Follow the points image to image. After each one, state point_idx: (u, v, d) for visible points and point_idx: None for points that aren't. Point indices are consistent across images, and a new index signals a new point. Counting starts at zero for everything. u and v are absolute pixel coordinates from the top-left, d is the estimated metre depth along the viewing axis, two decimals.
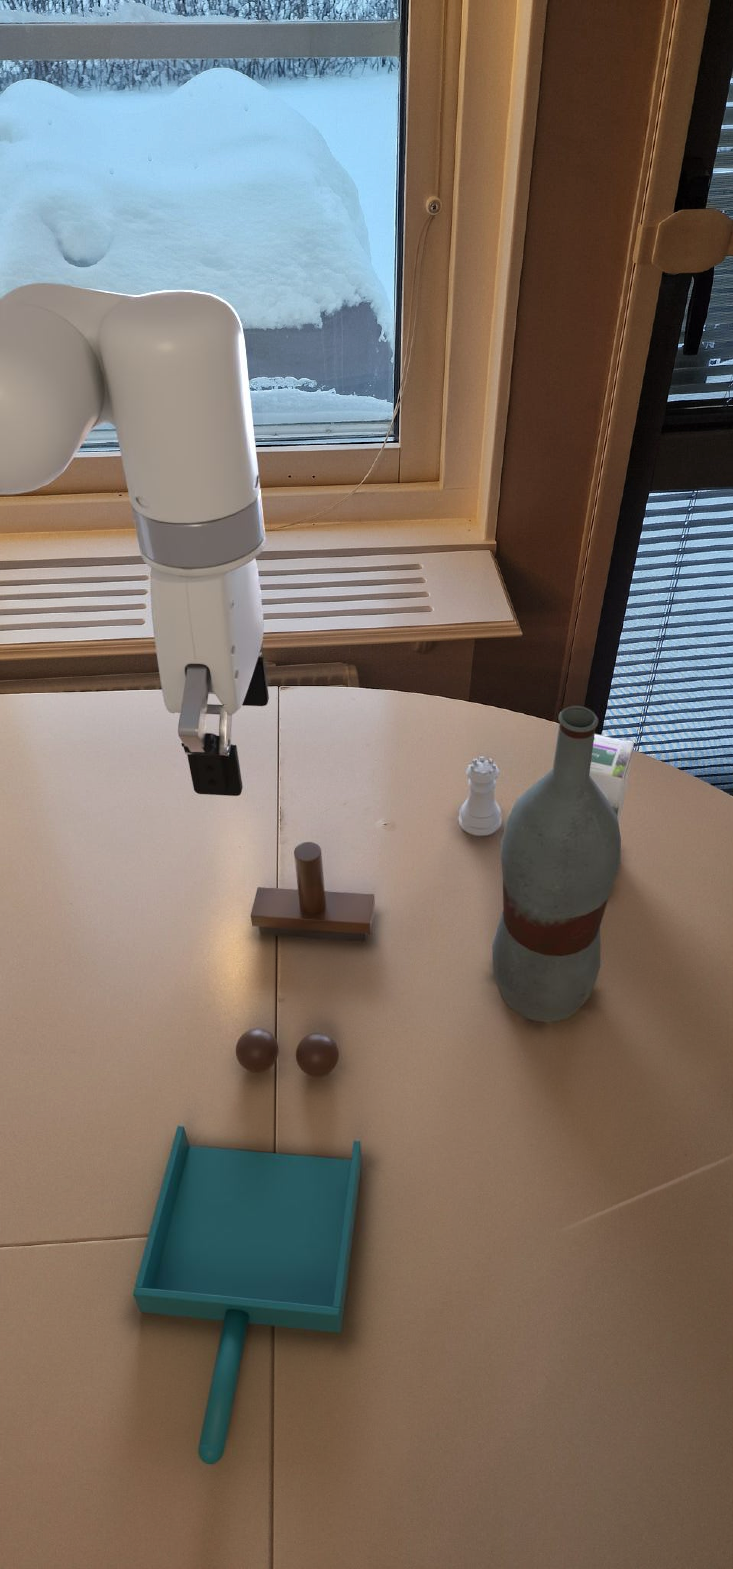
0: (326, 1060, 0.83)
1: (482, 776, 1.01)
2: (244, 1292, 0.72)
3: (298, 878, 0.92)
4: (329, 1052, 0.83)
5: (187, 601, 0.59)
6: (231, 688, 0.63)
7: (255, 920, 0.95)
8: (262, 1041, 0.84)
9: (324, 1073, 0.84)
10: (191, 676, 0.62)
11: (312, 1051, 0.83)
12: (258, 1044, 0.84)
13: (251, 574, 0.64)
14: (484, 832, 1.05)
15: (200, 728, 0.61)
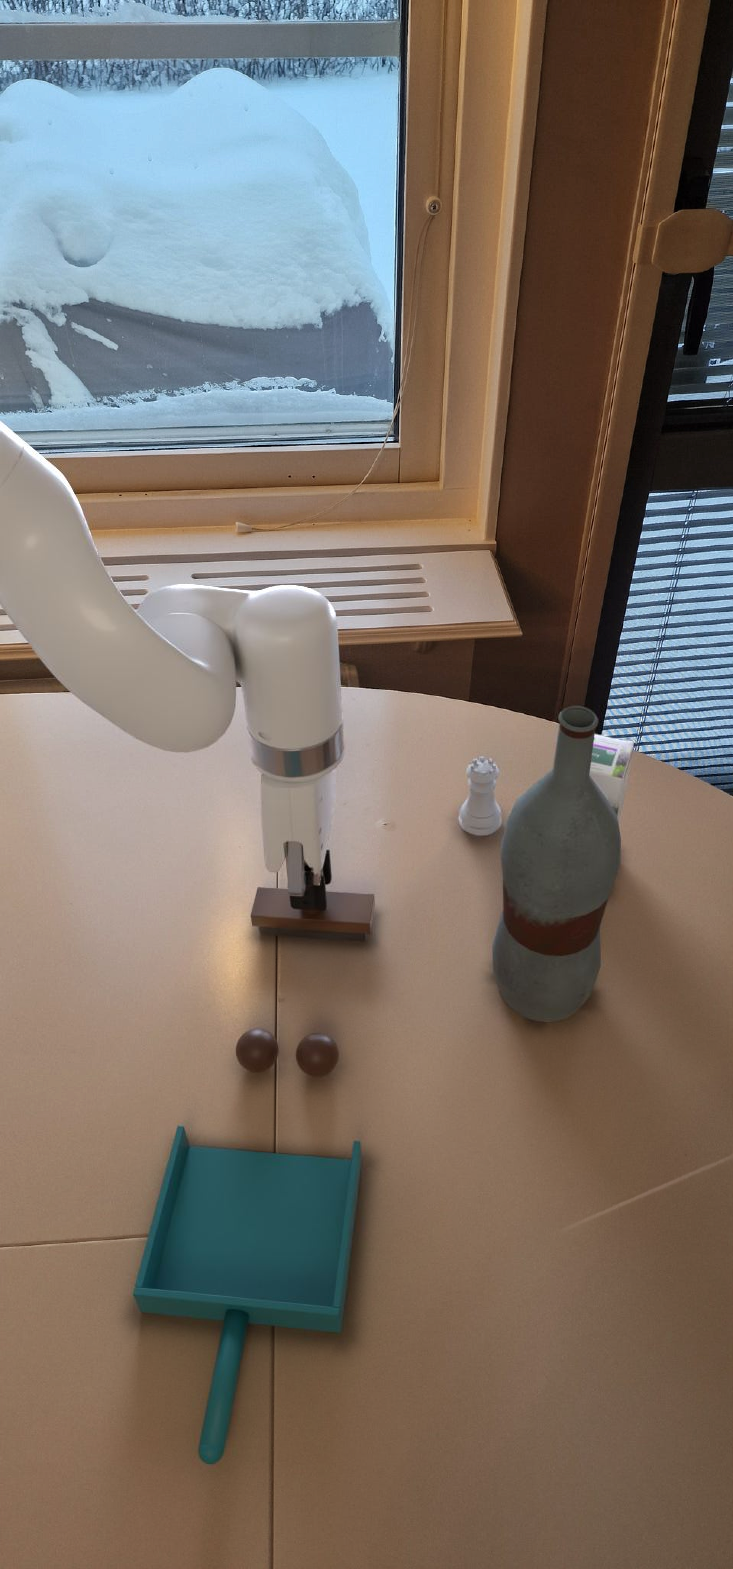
0: (326, 1060, 0.83)
1: (482, 776, 1.01)
2: (244, 1292, 0.72)
3: None
4: (329, 1052, 0.83)
5: (289, 800, 0.80)
6: (318, 857, 0.84)
7: (255, 920, 0.95)
8: (262, 1041, 0.84)
9: (324, 1073, 0.84)
10: (291, 855, 0.84)
11: (312, 1051, 0.83)
12: (258, 1044, 0.84)
13: None
14: (484, 832, 1.05)
15: (303, 887, 0.85)
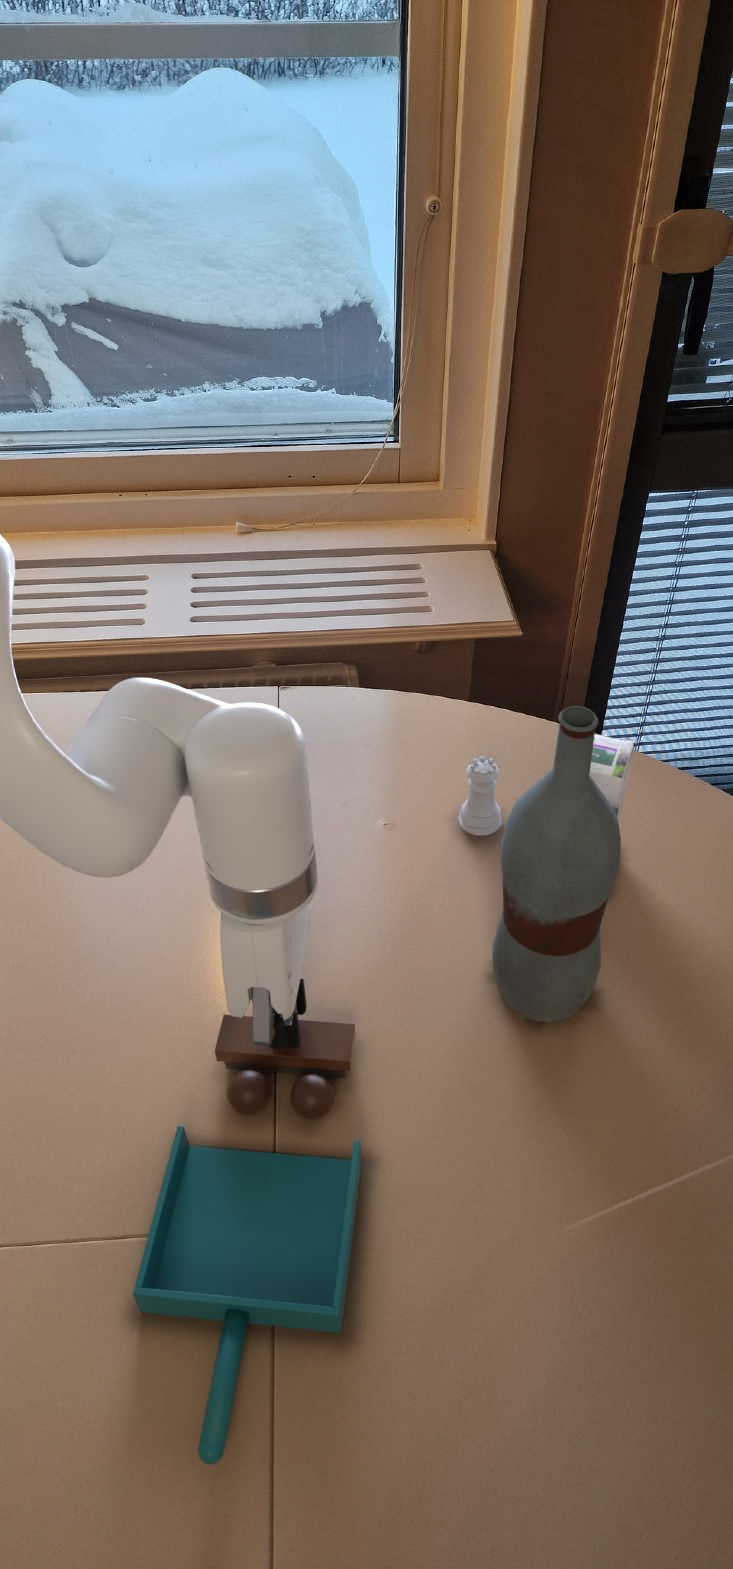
0: None
1: (482, 776, 1.01)
2: (244, 1292, 0.72)
3: None
4: None
5: (252, 944, 0.69)
6: (287, 1003, 0.73)
7: (220, 1055, 0.84)
8: None
9: None
10: (257, 1000, 0.73)
11: None
12: None
13: None
14: (484, 832, 1.05)
15: (271, 1035, 0.74)
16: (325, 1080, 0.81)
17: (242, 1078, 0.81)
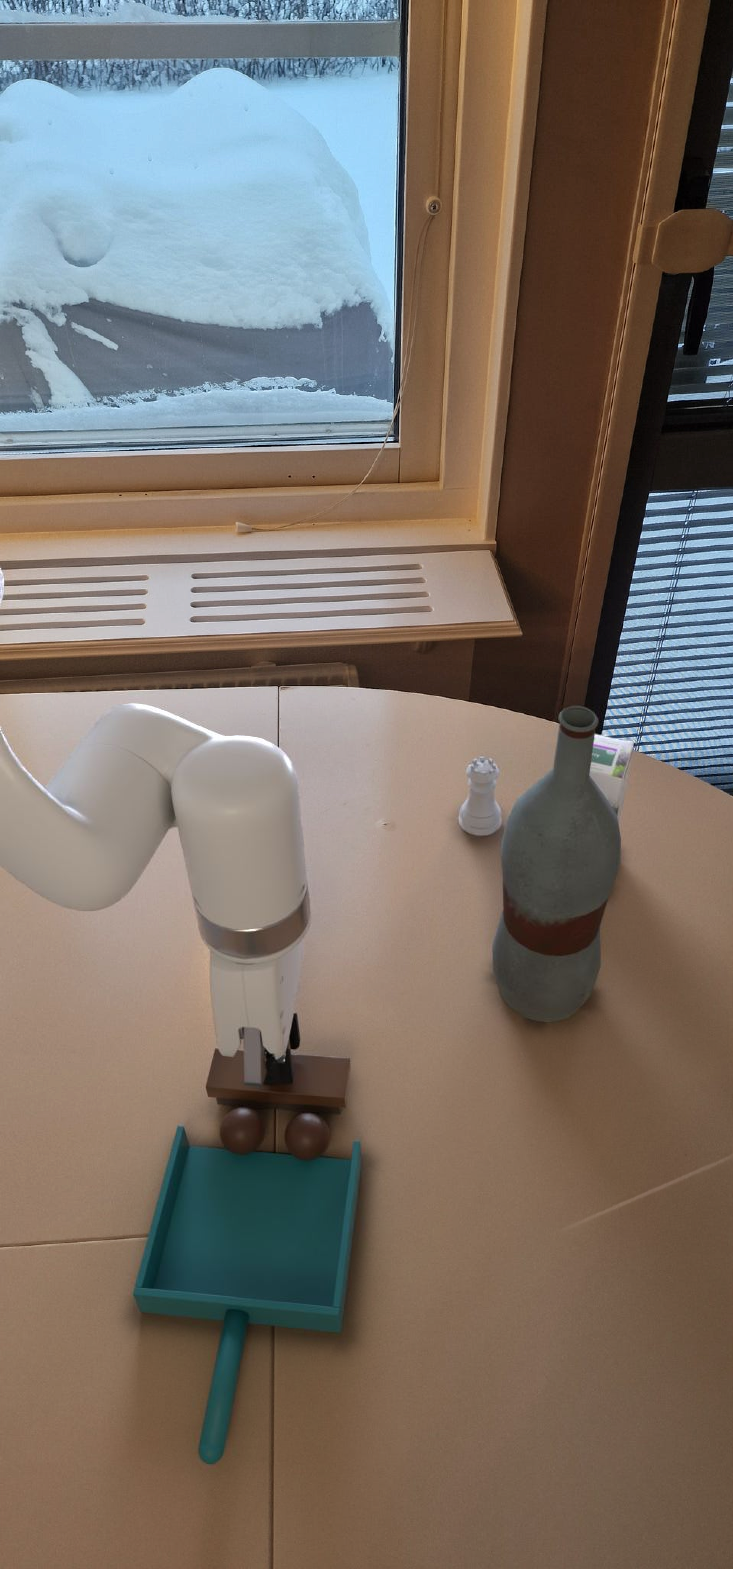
0: (320, 1117, 0.80)
1: (482, 776, 1.01)
2: (244, 1292, 0.72)
3: None
4: None
5: (243, 984, 0.67)
6: (279, 1042, 0.70)
7: (211, 1091, 0.81)
8: None
9: (316, 1119, 0.79)
10: (248, 1040, 0.70)
11: None
12: None
13: None
14: (484, 832, 1.05)
15: (262, 1075, 0.72)
16: (318, 1150, 0.78)
17: (233, 1152, 0.79)
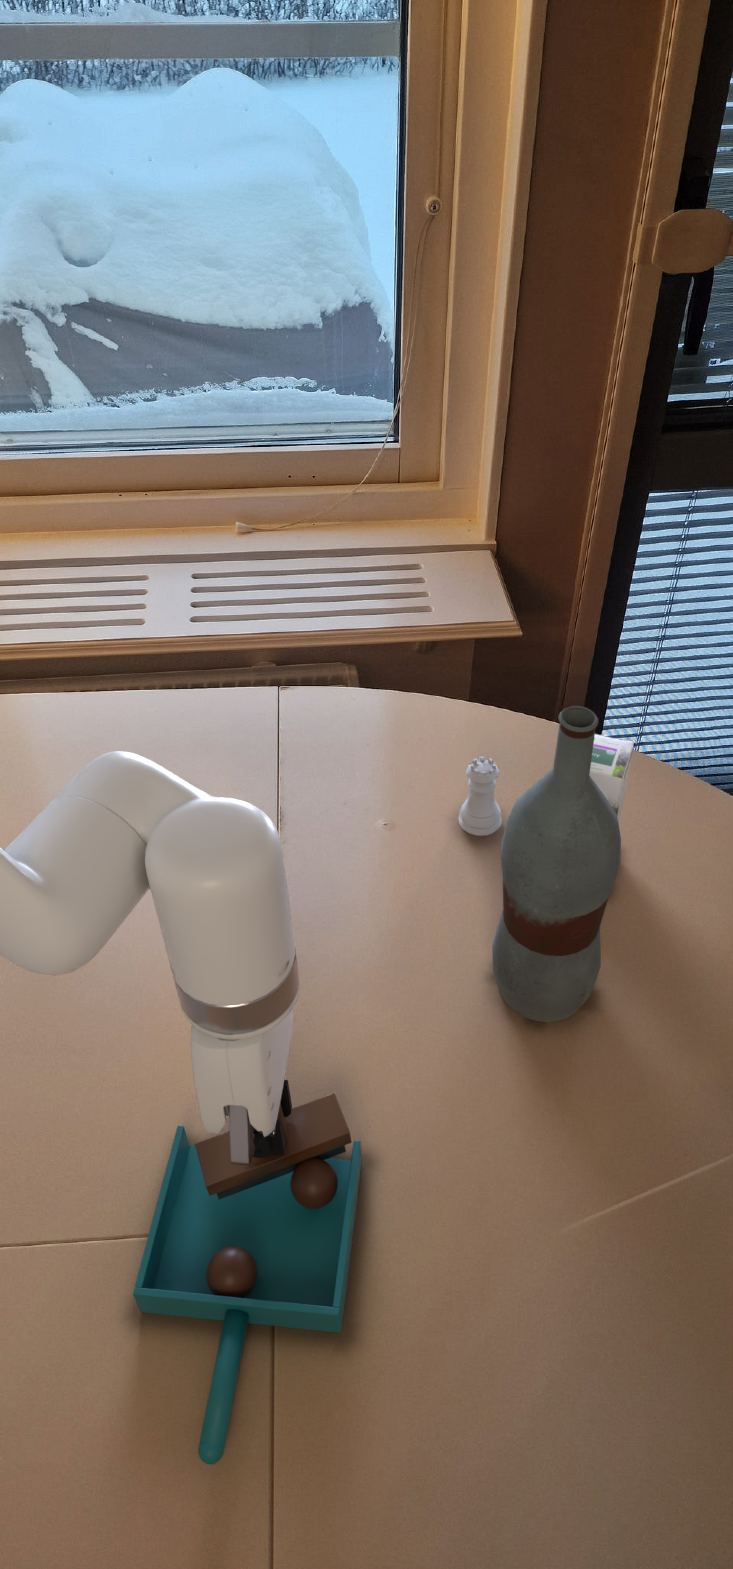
0: (329, 1168, 0.76)
1: (482, 776, 1.01)
2: None
3: None
4: (331, 1166, 0.76)
5: (226, 1062, 0.62)
6: (268, 1120, 0.66)
7: (213, 1188, 0.75)
8: None
9: (326, 1185, 0.75)
10: (234, 1117, 0.66)
11: (314, 1159, 0.76)
12: None
13: None
14: (484, 832, 1.05)
15: (250, 1153, 0.67)
16: None
17: None
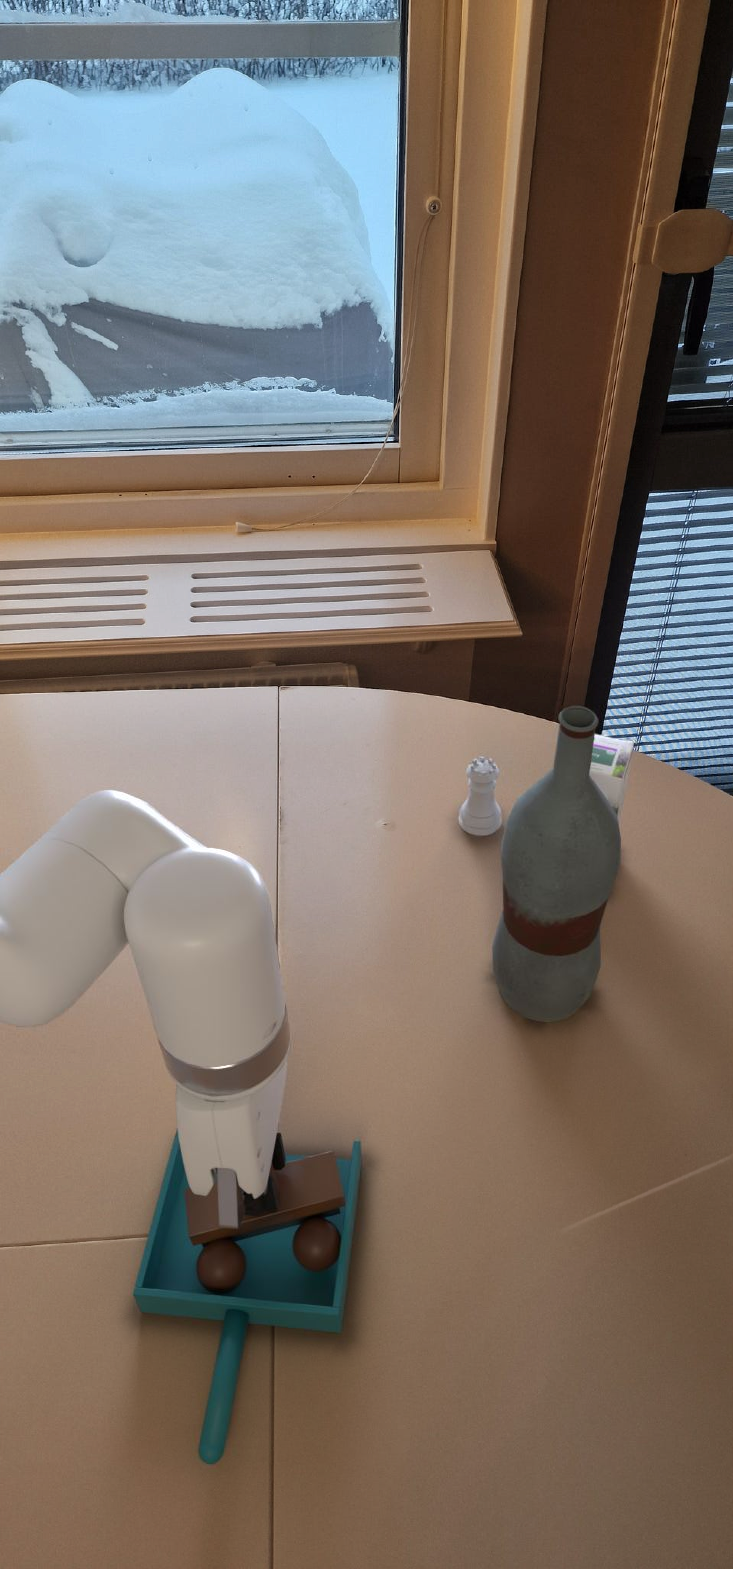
0: (332, 1249, 0.72)
1: (482, 776, 1.01)
2: (244, 1292, 0.72)
3: None
4: (332, 1238, 0.72)
5: (213, 1124, 0.59)
6: (258, 1182, 0.62)
7: (196, 1238, 0.72)
8: None
9: (333, 1263, 0.72)
10: (222, 1179, 0.62)
11: (314, 1245, 0.71)
12: None
13: None
14: (484, 832, 1.05)
15: (240, 1216, 0.64)
16: None
17: (208, 1287, 0.71)
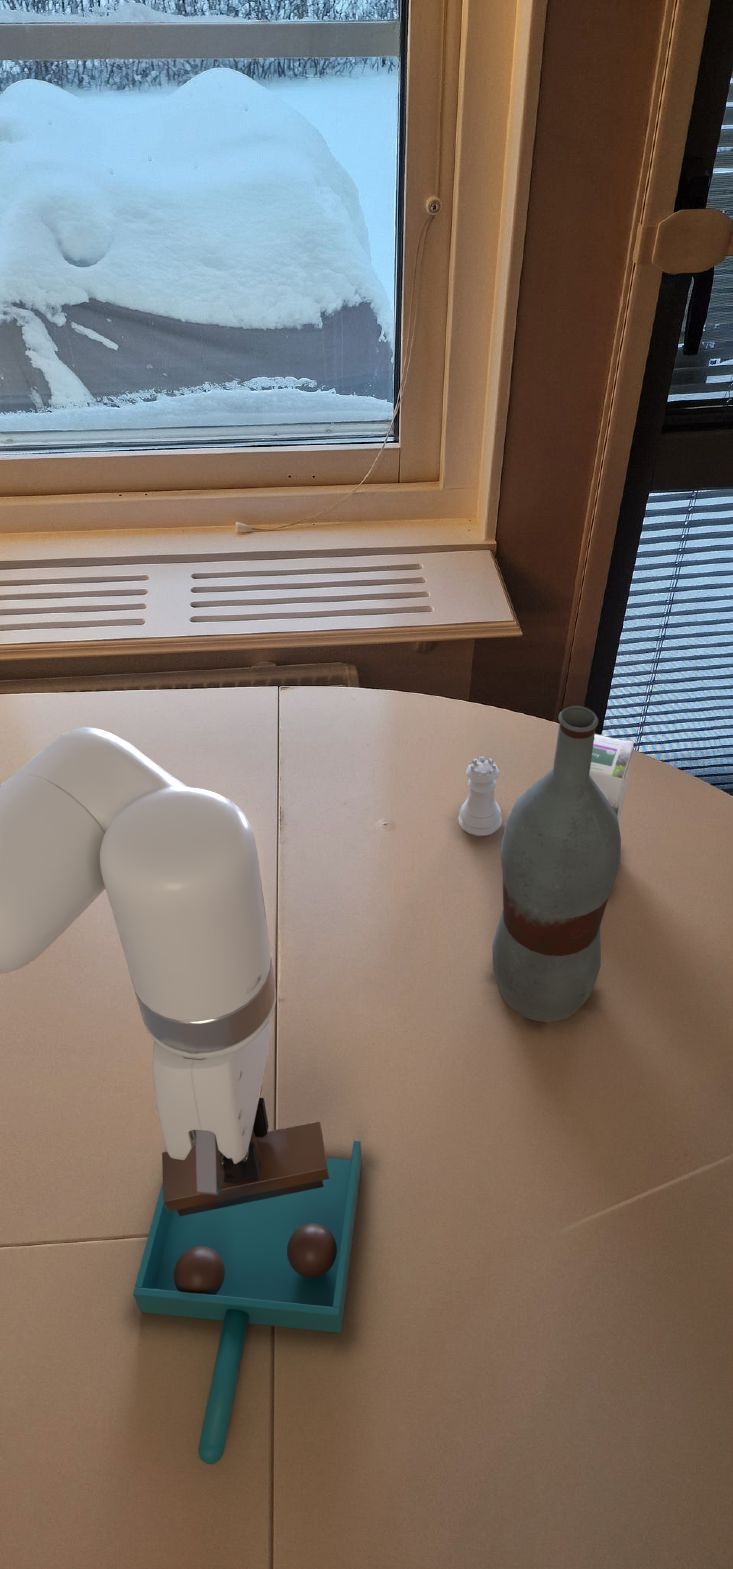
0: (324, 1258, 0.71)
1: (482, 776, 1.01)
2: (244, 1292, 0.72)
3: None
4: (323, 1248, 0.71)
5: (192, 1083, 0.55)
6: (238, 1146, 0.59)
7: (171, 1204, 0.69)
8: (219, 1256, 0.72)
9: (329, 1268, 0.72)
10: (201, 1143, 0.59)
11: (305, 1259, 0.71)
12: (216, 1252, 0.72)
13: None
14: (484, 832, 1.05)
15: (219, 1182, 0.61)
16: None
17: None
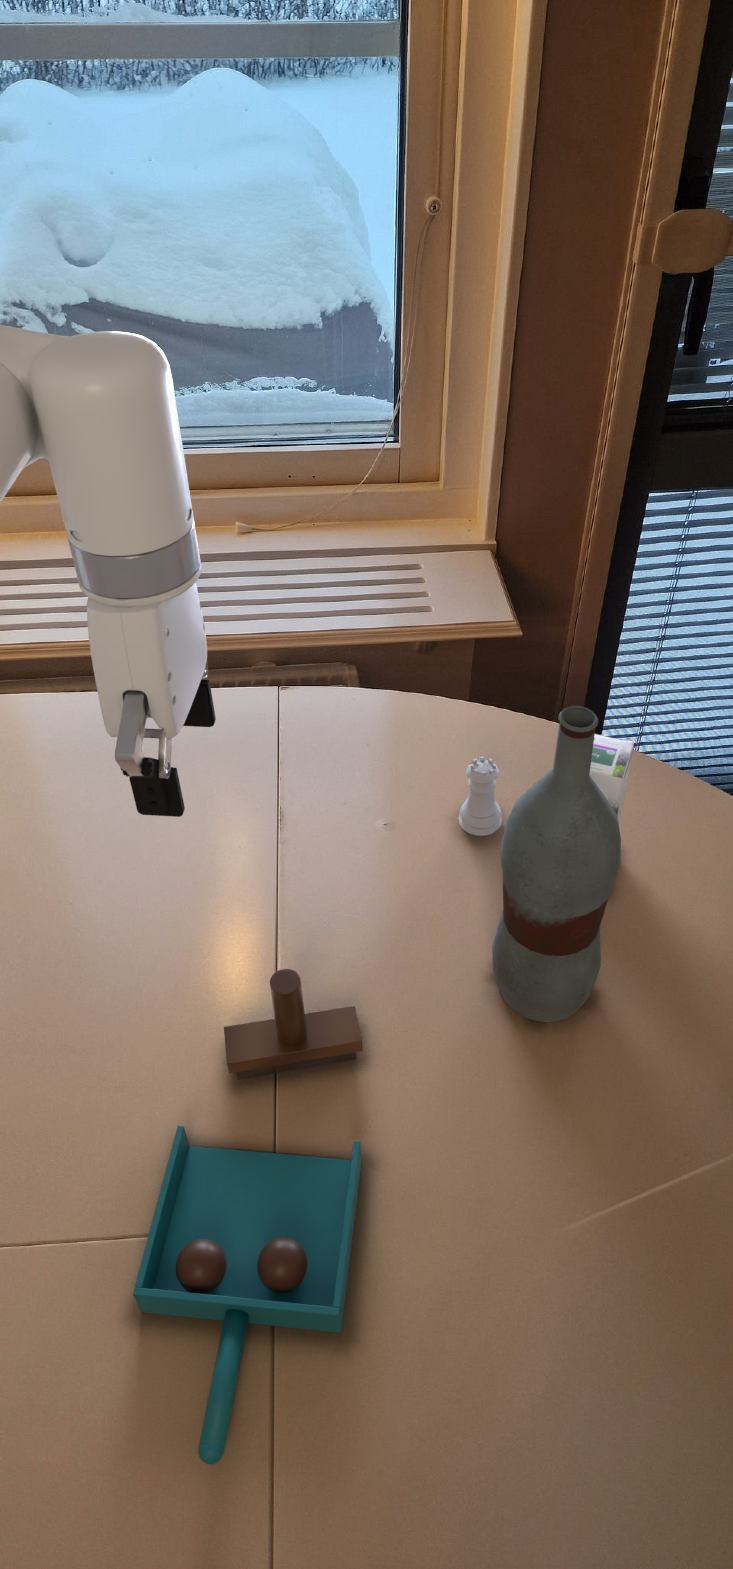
0: (277, 1283, 0.70)
1: (482, 776, 1.01)
2: (244, 1292, 0.72)
3: (277, 1011, 0.81)
4: (270, 1277, 0.70)
5: (122, 630, 0.61)
6: (169, 713, 0.65)
7: (233, 1066, 0.83)
8: (221, 1249, 0.73)
9: (296, 1279, 0.71)
10: (128, 702, 0.64)
11: (268, 1288, 0.71)
12: None
13: (189, 602, 0.66)
14: (484, 832, 1.05)
15: (137, 753, 0.63)
16: (294, 1244, 0.72)
17: (191, 1292, 0.71)
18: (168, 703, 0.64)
